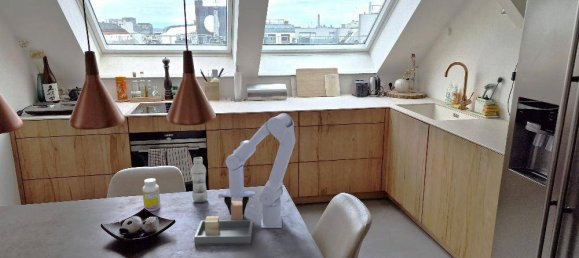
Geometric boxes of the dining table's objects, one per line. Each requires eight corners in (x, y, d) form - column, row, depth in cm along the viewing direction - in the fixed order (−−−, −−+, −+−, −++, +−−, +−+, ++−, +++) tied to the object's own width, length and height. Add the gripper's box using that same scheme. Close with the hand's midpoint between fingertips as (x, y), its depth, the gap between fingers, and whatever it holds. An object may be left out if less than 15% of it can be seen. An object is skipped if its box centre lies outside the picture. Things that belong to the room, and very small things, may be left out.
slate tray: (201, 228, 155) (200, 220, 154) (252, 228, 156) (252, 219, 155) (194, 245, 143) (194, 236, 142) (250, 245, 144) (250, 236, 143)
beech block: (207, 231, 151) (206, 216, 150) (219, 231, 152) (218, 216, 150) (205, 237, 147) (204, 222, 145) (218, 237, 147) (217, 221, 146)
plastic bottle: (204, 204, 176) (202, 161, 172) (190, 203, 178) (187, 160, 173) (210, 198, 182) (208, 156, 178) (196, 197, 184) (193, 155, 179)
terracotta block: (232, 214, 167) (231, 201, 166) (243, 214, 167) (243, 201, 166) (231, 219, 163) (230, 205, 161) (242, 219, 163) (242, 205, 161)
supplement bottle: (148, 204, 176) (145, 176, 173) (163, 205, 176) (160, 177, 173) (141, 211, 170) (138, 182, 167) (156, 212, 169) (154, 183, 166)
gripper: (216, 186, 157) (217, 218, 161) (253, 186, 158) (254, 218, 161) (219, 179, 164) (220, 210, 167) (254, 179, 165) (255, 210, 168)
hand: (237, 213), depth 165 cm, fingers closed on terracotta block, 4 cm apart
